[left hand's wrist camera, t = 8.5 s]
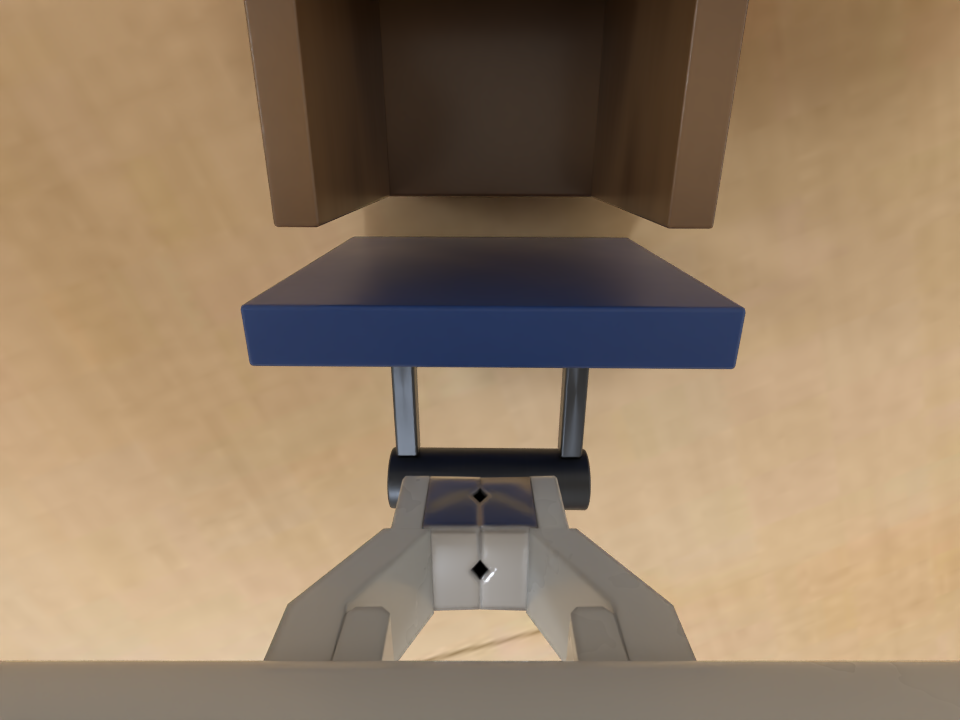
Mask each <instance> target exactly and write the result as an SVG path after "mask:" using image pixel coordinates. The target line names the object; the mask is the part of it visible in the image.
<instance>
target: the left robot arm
mask: <svg viewBox="0 0 960 720" xmlns="http://www.w3.org/2000/svg"><path fill="white" fill-rule="evenodd" d="M471 609H488V610H524V611H526V613H527V614H528V616H529V617H530V618H531V620H532V621H533V622H534V624H535V625H536V626H537V628H538V629H539V631H540V632H541V633H542V635H543V636H544V637H545V639H546V640H547V641H548V643H549V644H550V645H551V647H552V648H553V649H554V651H555V652H556V653H557V655H558V656H559V657H560V659H561V660H562V661H398V660H399V659H400V658H401V656H402V655H403V654H404V652H405V651H406V650H407V648H408V647H409V646H410V644H411V643H412V642H413V640H414V639H415V638H416V636H417V635H418V634H419V632H420V631H421V630H422V628H423V627H424V626H425V624H426V623H427V622H428V620H429V619H430V618H431V616H432V615H433V614H434V611H436V610H471ZM0 720H960V661H696V659H695V656H694V654H693V651H692V649H691V647H690V644H689V642H688V640H687V637H686V635H685V633H684V630H683V628H682V625H681V623H680V621H679V618H678V616H677V614H676V611H675V609H674V606H673V605H672V604H671V603H670V602H668V601H667V600H666V599H664V598H663V597H662V596H661V595H659V594H658V593H657V592H656V591H654V590H653V589H652V588H651V587H649V586H648V585H647V584H646V583H644V582H643V581H642V580H641V579H639V578H638V577H637V576H636V575H634V574H633V573H632V572H630V571H629V570H628V569H627V568H625V567H624V566H623V565H622V564H620V563H619V562H618V561H617V560H615V559H614V558H613V557H612V556H610V555H609V554H608V553H607V552H605V551H604V550H603V549H601V548H600V547H599V546H598V545H596V544H595V543H594V542H593V541H591V540H590V539H589V538H588V537H586V536H585V535H584V534H583V533H581V532H580V531H579V530H578V529H569V527H568V522H567V518H566V514H565V510H564V506H563V502H562V497H561V493H560V489H559V485H558V481H557V478H556V477H555V476H530V477H497V478H480V477H451V476H431V477H429V476H405V477H404V479H403V480H402V484H401V488H400V493H399V497H398V501H397V505H396V510H395V514H394V518H393V522H392V526H391V529H383V530H381V531H380V532H379V533H377V534H376V535H375V536H374V537H372V538H371V539H370V540H369V541H367V542H366V543H365V544H364V545H362V546H361V547H360V548H358V549H357V550H356V551H355V552H353V553H352V554H351V555H350V556H348V557H347V558H346V559H345V560H343V561H342V562H341V563H339V564H338V565H337V566H336V567H334V568H333V569H332V570H331V571H329V572H328V573H327V574H326V575H324V576H323V577H322V578H320V579H319V580H318V581H317V582H315V583H314V584H313V585H312V586H310V587H309V588H308V589H307V590H305V591H304V592H303V593H301V594H300V595H299V596H298V597H296V598H295V599H294V600H293V601H291V602H290V603H289V604H288V605H287V607H286V609H285V612H284V614H283V616H282V619H281V621H280V623H279V626H278V628H277V630H276V633H275V635H274V637H273V640H272V642H271V644H270V647H269V649H268V651H267V654H266V656H265V658H264V661H0Z"/></svg>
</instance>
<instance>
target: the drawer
mask: <svg viewBox="0 0 960 720" xmlns="http://www.w3.org/2000/svg"><path fill="white" fill-rule="evenodd" d="M748 1H749V0H244V5H245V12H246V20H247V27H248V35H249V42H250V49H251V57H252V64H253V71H254V79H255V86H256V93H257V101H258V108H259V116H260V123H261V130H262V138H263V145H264V152H265V160H266V167H267V175H268V182H269V189H270V197H271V204H272V211H273V219H274V224H275V226H277V227H318V226H320V225H323V224H325V223H327V222H330V221H332V220H335V219H337V218H339V217H342V216H344V215H346V214H349V213H351V212H353V211H356V210H358V209H360V208H363V207H365V206H367V205H370V204H372V203H374V202H377V201H379V200H381V199H384V198H386V197H388V196H473V197H594V198H596V199H598V200H601V201H603V202H606V203H608V204H611V205H613V206H616V207H618V208H620V209H623V210H625V211H628V212H630V213H633V214H635V215H637V216H640V217H642V218H645V219H647V220H650V221H652V222H655V223H657V224H659V225H662V226H664V227H667V228H686V229H710V228H712V227H713V223H714V217H715V211H716V204H717V198H718V192H719V185H720V179H721V173H722V166H723V160H724V153H725V147H726V141H727V134H728V128H729V122H730V115H731V109H732V103H733V96H734V90H735V84H736V77H737V71H738V65H739V58H740V52H741V46H742V39H743V33H744V27H745V20H746V14H747V8H748ZM241 314H242V319H243V325H244V331H245V337H246V343H247V349H248V355H249V361H250V364H251V365H253V366H357V367H391V374H392V390H393V405H394V421H395V437H396V447H395V448H393V450H392V452H391V455H390V460H389V466H388V481H387V489H388V500H389V504H390V507H391V508H396V505H397V501H398V497H399V493H400V488H401V484H402V480H403V479H404V477H405V476H429V477H431V476H451V477H480V478H497V477H530V476H555V477H556V478H557V481H558V485H559V489H560V493H561V497H562V502H563V506H564V510H586V509H587V508H588V506H589V502H590V492H591V477H590V466H589V460H588V456H587V453H586V451H585V450H584V449H582V447H583V434H584V422H585V410H586V398H587V386H588V374H589V368H652V369H733V368H734V367H735V365H736V359H737V354H738V349H739V344H740V338H741V333H742V328H743V323H744V317H745V308H743V307H742V306H740V305H738V304H737V303H735V302H733V301H732V300H730V299H728V298H727V297H725V296H723V295H722V294H720V293H718V292H717V291H715V290H713V289H712V288H710V287H708V286H707V285H705V284H703V283H702V282H700V281H698V280H697V279H695V278H693V277H692V276H690V275H688V274H687V273H685V272H683V271H682V270H680V269H678V268H677V267H675V266H673V265H672V264H670V263H668V262H667V261H665V260H663V259H662V258H660V257H658V256H657V255H655V254H653V253H652V252H650V251H648V250H647V249H645V248H643V247H642V246H640V245H638V244H637V243H635V242H633V241H632V240H630V239H628V238H556V237H352V238H351V239H349V240H347V241H346V242H344V243H343V244H341V245H339V246H338V247H336V248H334V249H333V250H331V251H330V252H328V253H326V254H325V255H323V256H321V257H320V258H318V259H317V260H315V261H313V262H312V263H310V264H308V265H307V266H305V267H304V268H302V269H300V270H299V271H297V272H295V273H294V274H292V275H291V276H289V277H287V278H286V279H284V280H282V281H281V282H279V283H278V284H276V285H274V286H273V287H271V288H269V289H268V290H266V291H265V292H263V293H261V294H260V295H258V296H257V297H255V298H253V299H252V300H250V301H248V302H247V303H245V304H244V305H242V307H241ZM417 367H505V368H563V374H562V390H561V405H560V421H559V437H558V449H534V448H420V429H419V407H418V385H417Z"/></svg>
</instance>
